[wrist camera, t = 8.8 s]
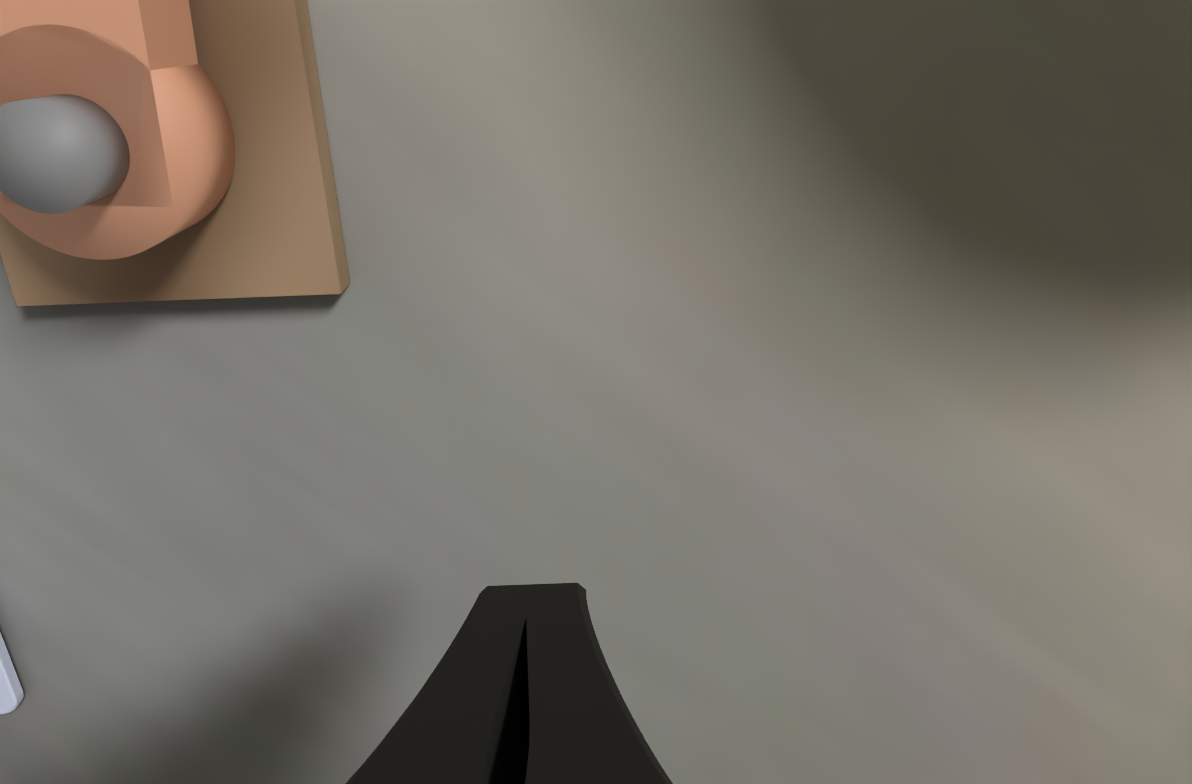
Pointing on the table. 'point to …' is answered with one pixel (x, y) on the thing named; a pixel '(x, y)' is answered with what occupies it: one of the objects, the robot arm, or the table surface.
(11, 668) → the robot arm
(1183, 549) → the table surface
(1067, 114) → the table surface
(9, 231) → the pintle plate
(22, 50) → the link
